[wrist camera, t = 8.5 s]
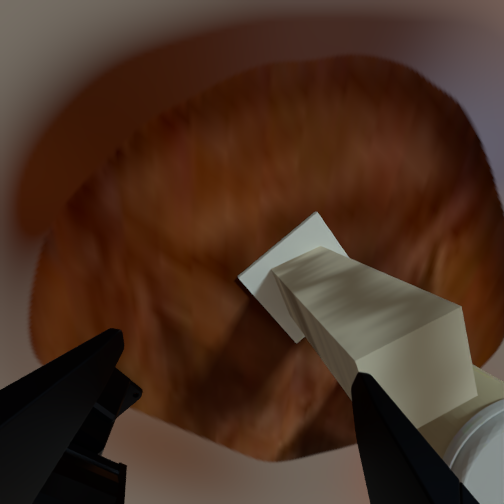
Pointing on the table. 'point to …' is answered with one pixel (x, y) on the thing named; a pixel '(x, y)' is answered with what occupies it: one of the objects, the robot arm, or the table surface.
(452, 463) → the coffee cup
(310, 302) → the letter block
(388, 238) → the table surface
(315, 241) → the ceramic tile
